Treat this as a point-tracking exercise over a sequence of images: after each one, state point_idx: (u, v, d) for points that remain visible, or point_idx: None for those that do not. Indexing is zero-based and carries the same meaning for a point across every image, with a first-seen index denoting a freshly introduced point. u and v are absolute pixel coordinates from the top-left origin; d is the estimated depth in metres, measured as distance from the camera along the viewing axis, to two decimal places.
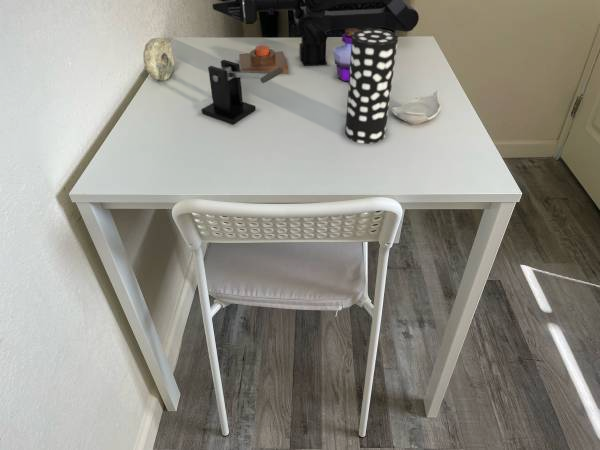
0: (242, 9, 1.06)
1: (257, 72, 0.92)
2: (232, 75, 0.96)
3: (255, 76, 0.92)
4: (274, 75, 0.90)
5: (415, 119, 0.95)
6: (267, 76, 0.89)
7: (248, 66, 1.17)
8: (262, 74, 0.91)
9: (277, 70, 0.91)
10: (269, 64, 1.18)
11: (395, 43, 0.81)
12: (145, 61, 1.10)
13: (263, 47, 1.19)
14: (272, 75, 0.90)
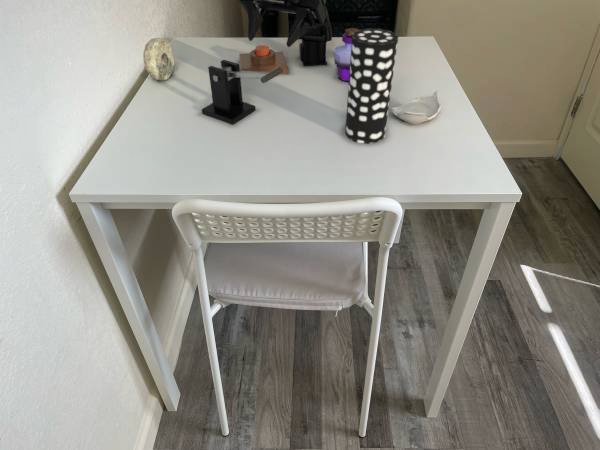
0: (313, 18, 0.94)
1: (257, 72, 0.92)
2: (232, 75, 0.96)
3: (255, 76, 0.92)
4: (274, 75, 0.90)
5: (415, 119, 0.95)
6: (267, 76, 0.89)
7: (248, 66, 1.17)
8: (262, 74, 0.91)
9: (277, 70, 0.91)
10: (269, 64, 1.18)
11: (395, 43, 0.81)
12: (145, 61, 1.10)
13: (263, 47, 1.19)
14: (272, 75, 0.90)
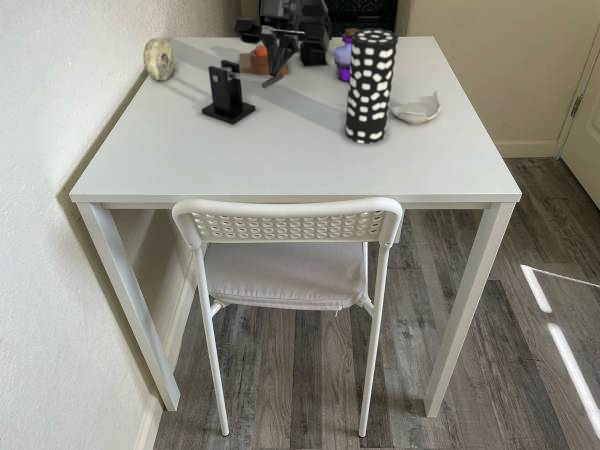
0: (297, 44, 0.90)
1: (258, 76, 0.92)
2: (232, 76, 0.96)
3: (256, 80, 0.93)
4: (275, 81, 0.91)
5: (415, 119, 0.95)
6: (268, 82, 0.89)
7: (248, 66, 1.17)
8: (263, 79, 0.91)
9: (278, 76, 0.91)
10: None
11: (395, 43, 0.81)
12: (145, 61, 1.10)
13: (263, 47, 1.19)
14: (273, 81, 0.90)
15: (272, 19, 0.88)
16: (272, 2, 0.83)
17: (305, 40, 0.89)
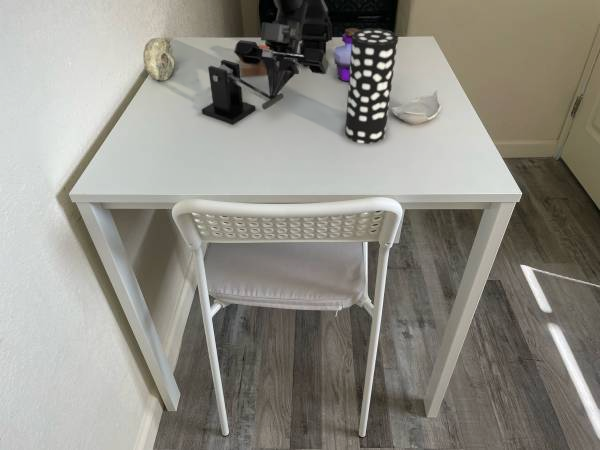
0: (296, 67, 0.93)
1: (259, 91, 0.95)
2: (232, 80, 0.96)
3: (256, 94, 0.95)
4: (275, 102, 0.94)
5: (415, 119, 0.95)
6: (269, 104, 0.93)
7: (248, 66, 1.17)
8: (264, 96, 0.94)
9: (279, 97, 0.95)
10: None
11: (395, 43, 0.81)
12: (145, 61, 1.10)
13: (263, 47, 1.19)
14: (273, 102, 0.94)
15: (272, 43, 0.91)
16: (272, 28, 0.86)
17: (304, 63, 0.92)
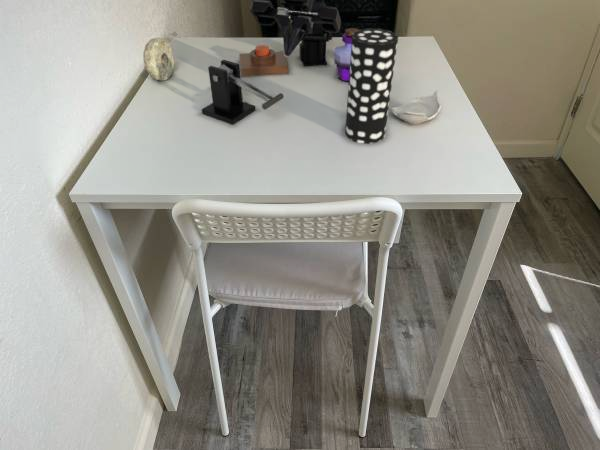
0: (310, 25, 0.95)
1: (259, 91, 0.95)
2: (232, 80, 0.96)
3: (256, 94, 0.95)
4: (275, 102, 0.94)
5: (415, 119, 0.95)
6: (269, 104, 0.93)
7: (248, 66, 1.17)
8: (264, 96, 0.94)
9: (279, 97, 0.95)
10: (269, 64, 1.18)
11: (395, 43, 0.81)
12: (145, 61, 1.10)
13: (263, 47, 1.19)
14: (273, 103, 0.94)
15: (287, 1, 0.94)
16: None
17: (318, 21, 0.95)
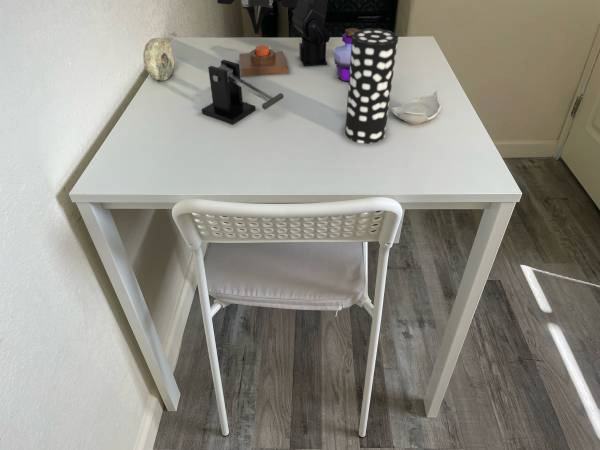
0: None
1: (259, 91, 0.95)
2: (232, 80, 0.96)
3: (256, 94, 0.95)
4: (275, 102, 0.94)
5: (415, 119, 0.95)
6: (269, 104, 0.93)
7: (248, 66, 1.17)
8: (264, 96, 0.94)
9: (279, 97, 0.95)
10: (269, 64, 1.18)
11: (395, 43, 0.81)
12: (145, 61, 1.10)
13: (263, 47, 1.19)
14: (273, 103, 0.94)
15: None
16: None
17: None
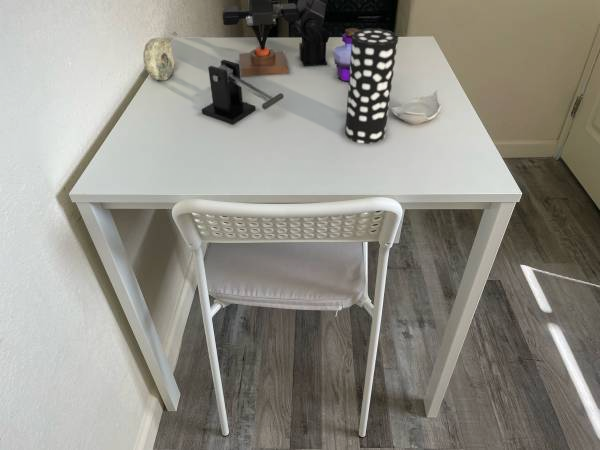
0: None
1: (259, 91, 0.95)
2: (232, 80, 0.96)
3: (256, 94, 0.95)
4: (275, 102, 0.94)
5: (415, 119, 0.95)
6: (269, 104, 0.93)
7: (248, 66, 1.17)
8: (264, 96, 0.94)
9: (279, 97, 0.95)
10: (269, 64, 1.18)
11: (395, 43, 0.81)
12: (145, 61, 1.10)
13: None
14: (273, 103, 0.94)
15: None
16: (263, 16, 1.06)
17: (281, 16, 1.14)
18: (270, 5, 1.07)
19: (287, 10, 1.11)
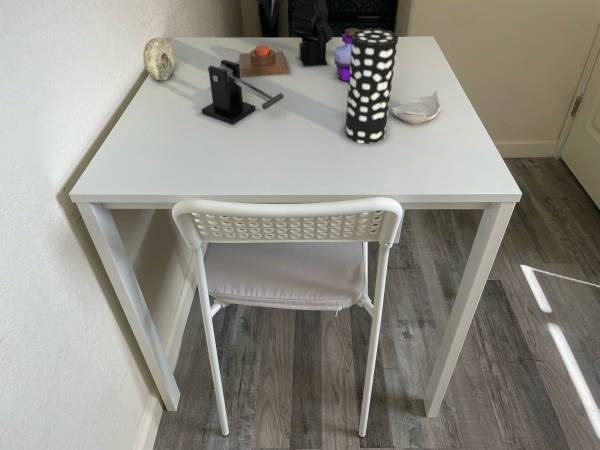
0: None
1: (259, 91, 0.95)
2: (232, 80, 0.96)
3: (256, 94, 0.95)
4: (275, 102, 0.94)
5: (415, 119, 0.95)
6: (269, 104, 0.93)
7: (248, 66, 1.17)
8: (264, 96, 0.94)
9: (279, 97, 0.95)
10: (269, 64, 1.18)
11: (395, 43, 0.81)
12: (145, 61, 1.10)
13: (263, 47, 1.19)
14: (273, 103, 0.94)
15: None
16: None
17: None
18: None
19: None
